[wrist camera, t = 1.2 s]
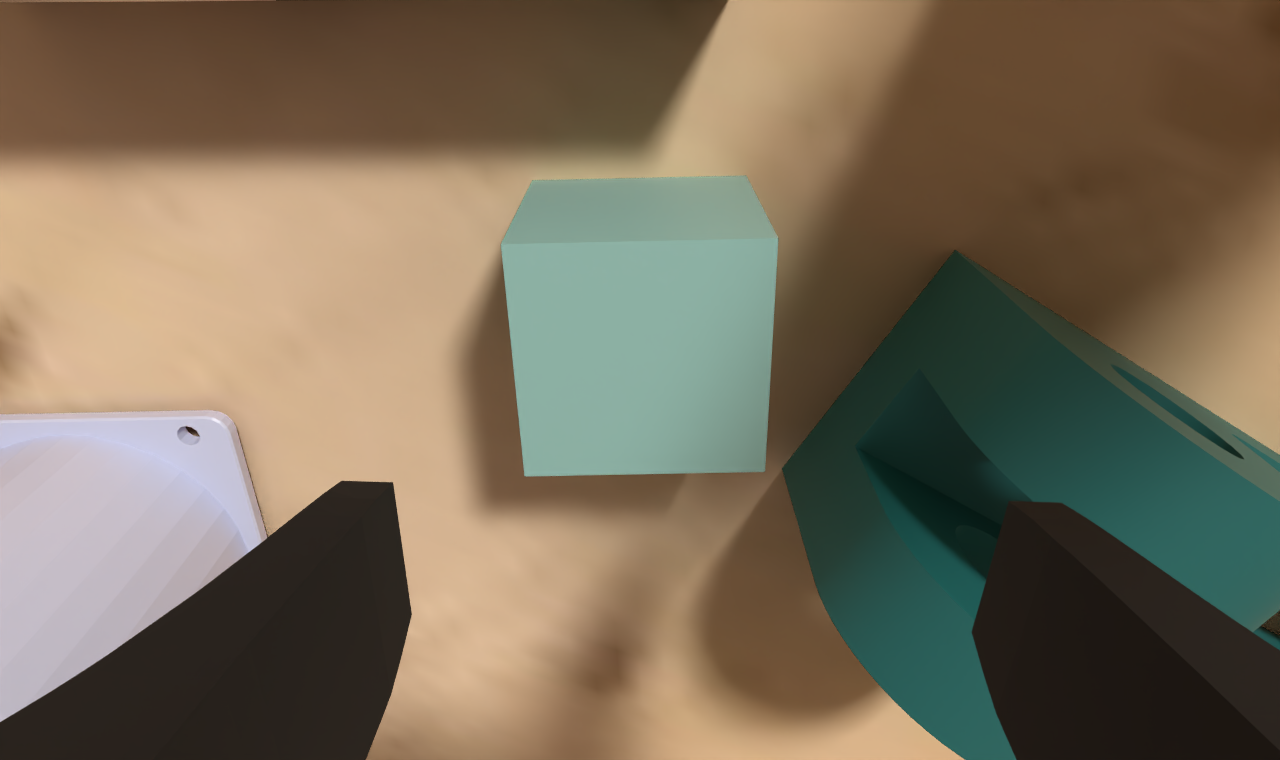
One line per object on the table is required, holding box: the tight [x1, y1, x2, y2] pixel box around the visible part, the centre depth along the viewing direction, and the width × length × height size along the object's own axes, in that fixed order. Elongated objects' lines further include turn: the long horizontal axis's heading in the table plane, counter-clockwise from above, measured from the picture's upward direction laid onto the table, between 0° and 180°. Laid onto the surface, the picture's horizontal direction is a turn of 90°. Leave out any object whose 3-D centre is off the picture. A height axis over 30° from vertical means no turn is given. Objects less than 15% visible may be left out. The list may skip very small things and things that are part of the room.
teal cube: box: [501, 176, 778, 476], centre depth 17 cm, size 5×5×5 cm
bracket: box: [782, 250, 1280, 760], centre depth 18 cm, size 18×7×8 cm, turn 60°
